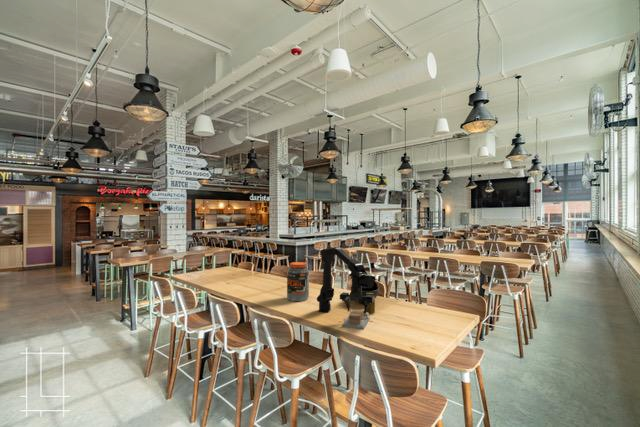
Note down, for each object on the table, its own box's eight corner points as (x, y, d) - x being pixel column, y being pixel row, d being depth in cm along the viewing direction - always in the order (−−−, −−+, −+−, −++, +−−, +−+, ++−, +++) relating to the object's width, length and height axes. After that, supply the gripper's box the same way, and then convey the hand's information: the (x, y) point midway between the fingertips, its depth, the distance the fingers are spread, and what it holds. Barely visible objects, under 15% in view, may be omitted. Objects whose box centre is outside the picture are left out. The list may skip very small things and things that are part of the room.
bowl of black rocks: (351, 297, 219) (351, 272, 219) (378, 298, 216) (378, 272, 216) (349, 305, 199) (350, 277, 199) (380, 307, 196) (380, 278, 196)
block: (359, 324, 162) (359, 316, 162) (349, 323, 164) (349, 315, 164) (363, 318, 171) (363, 310, 171) (353, 317, 173) (353, 309, 173)
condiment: (377, 312, 185) (377, 293, 185) (367, 315, 180) (367, 295, 180) (369, 309, 191) (369, 291, 191) (359, 312, 186) (359, 293, 186)
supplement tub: (284, 301, 208) (284, 264, 208) (290, 295, 224) (290, 261, 224) (306, 302, 206) (306, 265, 206) (310, 296, 221) (310, 261, 221)
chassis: (363, 329, 158) (363, 321, 158) (342, 326, 162) (342, 318, 162) (369, 319, 173) (369, 312, 173) (349, 316, 177) (349, 310, 177)
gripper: (336, 286, 163) (336, 315, 163) (370, 289, 157) (370, 319, 157) (342, 282, 174) (342, 309, 174) (374, 285, 167) (374, 312, 167)
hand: (356, 312), depth 168 cm, fingers open, 9 cm apart
